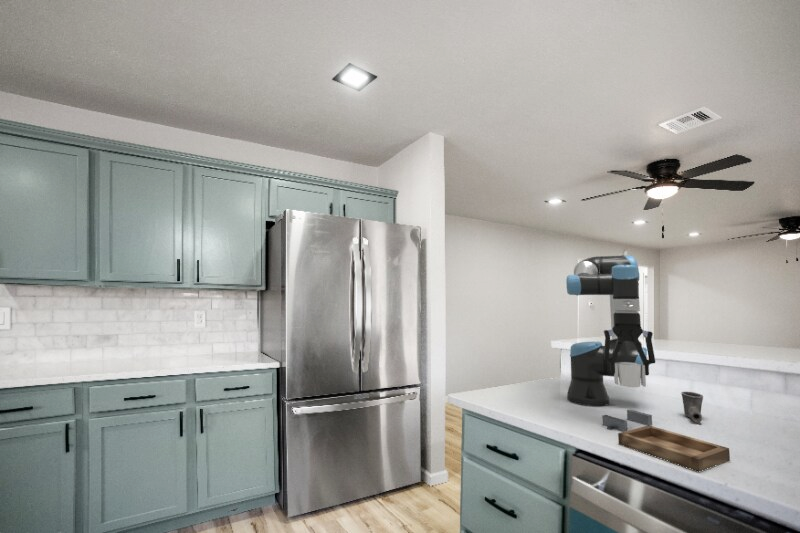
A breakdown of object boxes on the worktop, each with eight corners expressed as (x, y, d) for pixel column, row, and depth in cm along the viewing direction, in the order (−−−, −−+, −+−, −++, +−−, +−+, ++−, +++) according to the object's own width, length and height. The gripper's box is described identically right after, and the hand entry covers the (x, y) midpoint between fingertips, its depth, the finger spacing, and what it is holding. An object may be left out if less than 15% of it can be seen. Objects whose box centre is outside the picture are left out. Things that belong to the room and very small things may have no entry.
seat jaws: (598, 426, 125) (598, 416, 125) (634, 417, 133) (634, 408, 134) (619, 432, 119) (619, 422, 119) (655, 423, 127) (655, 414, 128)
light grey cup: (631, 388, 120) (630, 365, 120) (612, 384, 126) (611, 362, 127) (647, 387, 122) (646, 364, 122) (628, 382, 128) (627, 361, 129)
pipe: (686, 423, 128) (684, 398, 128) (681, 413, 139) (679, 390, 140) (709, 426, 125) (708, 400, 125) (702, 415, 136) (700, 392, 137)
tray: (618, 444, 110) (618, 433, 110) (649, 435, 116) (648, 425, 117) (699, 472, 92) (698, 459, 92) (729, 460, 99) (729, 448, 99)
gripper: (593, 312, 126) (596, 384, 124) (665, 313, 119) (669, 389, 117) (591, 311, 133) (594, 380, 131) (659, 312, 126) (663, 385, 124)
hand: (629, 384), depth 124 cm, fingers closed on light grey cup, 7 cm apart
